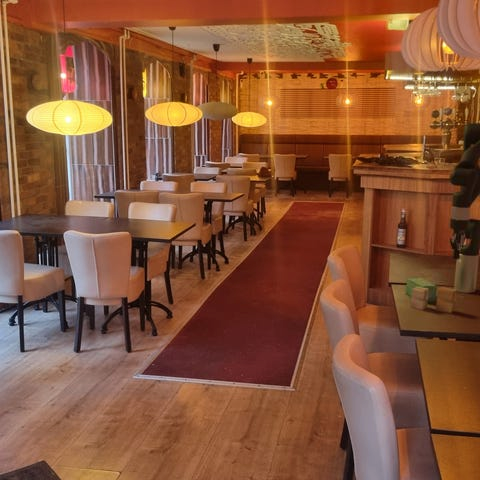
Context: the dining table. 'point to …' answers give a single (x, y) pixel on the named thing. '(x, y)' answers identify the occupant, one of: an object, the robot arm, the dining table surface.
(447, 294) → the oak pillar
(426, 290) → the birch pillar
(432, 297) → the box
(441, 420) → the dining table surface
